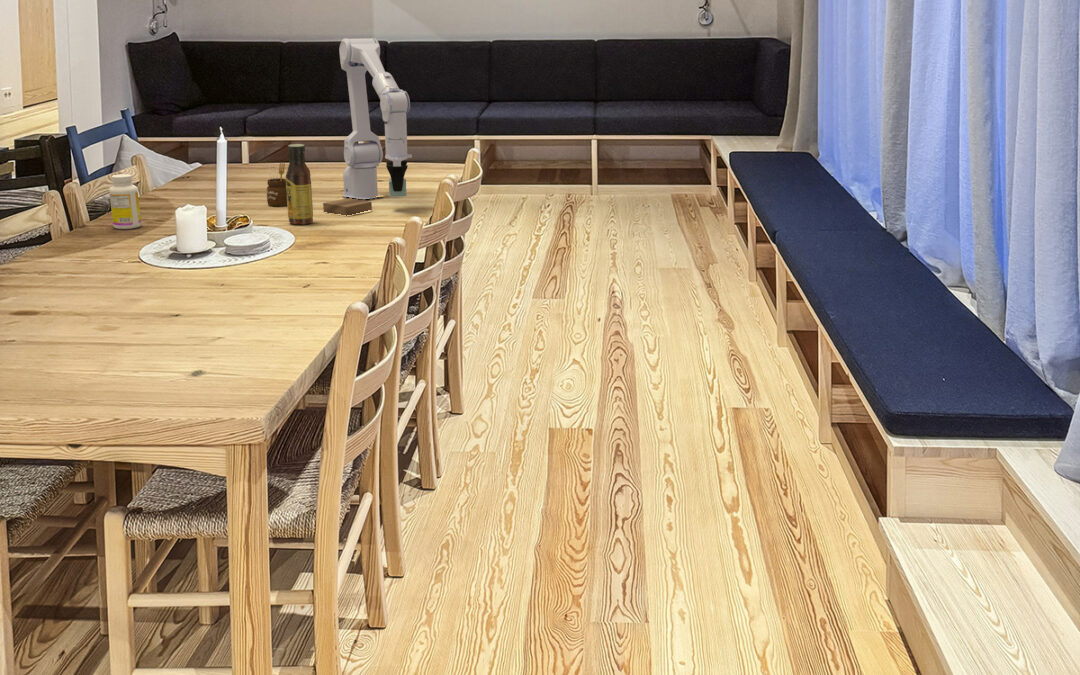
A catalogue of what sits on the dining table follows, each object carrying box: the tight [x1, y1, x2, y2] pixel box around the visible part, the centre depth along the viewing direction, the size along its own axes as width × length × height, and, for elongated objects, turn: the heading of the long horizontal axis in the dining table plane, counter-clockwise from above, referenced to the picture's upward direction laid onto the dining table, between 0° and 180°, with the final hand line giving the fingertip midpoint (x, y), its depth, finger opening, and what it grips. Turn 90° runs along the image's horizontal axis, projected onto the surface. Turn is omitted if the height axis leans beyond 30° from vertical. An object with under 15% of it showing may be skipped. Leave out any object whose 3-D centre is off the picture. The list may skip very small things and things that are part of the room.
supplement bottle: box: [108, 173, 142, 230], centre depth 274 cm, size 7×7×13 cm
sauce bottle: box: [285, 143, 314, 226], centre depth 279 cm, size 6×6×20 cm
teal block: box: [388, 178, 407, 198], centre depth 297 cm, size 4×4×4 cm
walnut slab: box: [322, 198, 373, 217], centre depth 296 cm, size 9×9×3 cm
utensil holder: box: [266, 162, 287, 208], centre depth 303 cm, size 6×6×12 cm
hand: (397, 189), depth 297 cm, fingers closed on teal block, 4 cm apart
